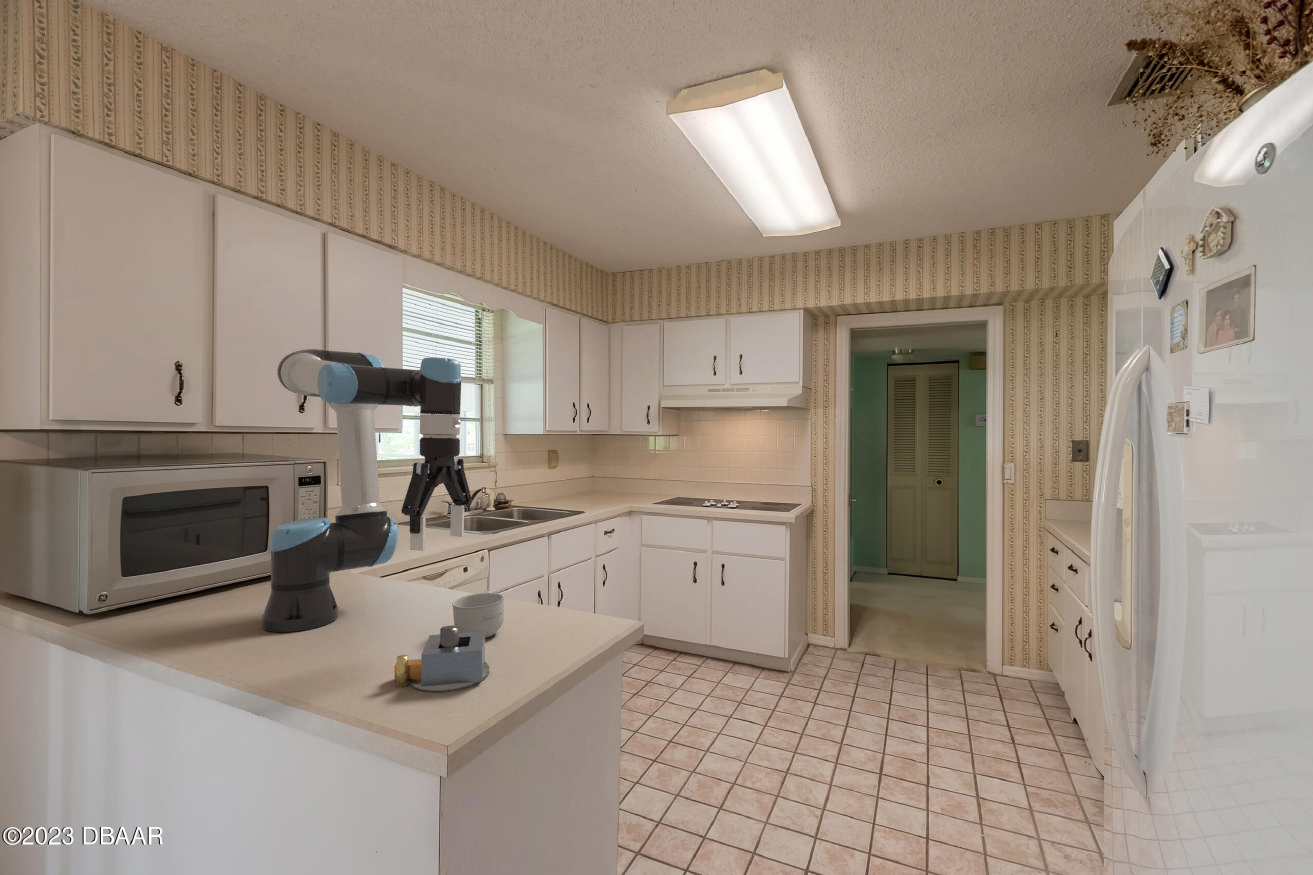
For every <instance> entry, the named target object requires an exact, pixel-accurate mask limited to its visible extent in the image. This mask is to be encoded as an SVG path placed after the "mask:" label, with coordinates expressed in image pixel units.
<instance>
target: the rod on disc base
mask: <svg viewBox="0 0 1313 875" xmlns="http://www.w3.org/2000/svg"><path fill="white" fill-rule="evenodd" d="M439 630H440V631H439V632H440V633H439V634H440V649H441V648H454V647H459V627H458V626H455V625H446V626H442V627H441V628H440V629H439ZM489 675H490V666H489V664H488V663H487V662H486V661H485V662H484V669H483V677H482V681H480V682H468V683H457V684H446V685H435V686H423V687H421V678H415V679H408V686H410V687H411V688H412V689H414V690H417V691H420V692H425V693H447V692H454V691H458V690H464V689H467V688H470V687H472V686H475V685H478V684H479V683H481V682H483V681H484V680H485V679H486V678H487V677H488V676H489Z"/></svg>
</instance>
